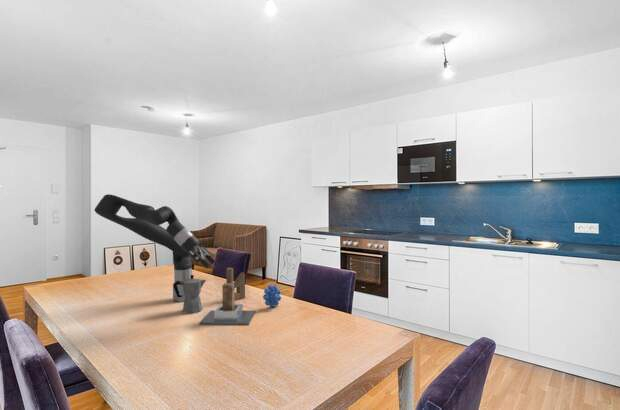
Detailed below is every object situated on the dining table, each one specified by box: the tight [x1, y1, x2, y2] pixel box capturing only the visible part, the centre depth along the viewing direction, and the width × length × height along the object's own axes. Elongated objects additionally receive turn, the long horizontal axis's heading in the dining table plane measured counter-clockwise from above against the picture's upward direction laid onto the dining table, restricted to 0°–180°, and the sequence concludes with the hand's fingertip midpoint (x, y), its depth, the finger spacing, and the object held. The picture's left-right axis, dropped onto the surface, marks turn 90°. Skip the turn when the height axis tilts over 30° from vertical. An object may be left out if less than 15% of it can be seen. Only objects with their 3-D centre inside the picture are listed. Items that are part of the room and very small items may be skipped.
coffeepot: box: [172, 274, 207, 315], centre depth 169 cm, size 15×9×18 cm, turn 110°
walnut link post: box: [221, 282, 236, 310], centre depth 159 cm, size 4×4×15 cm
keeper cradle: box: [199, 303, 256, 326], centre depth 159 cm, size 22×16×5 cm
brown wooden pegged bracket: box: [225, 267, 246, 301], centre depth 188 cm, size 4×11×18 cm, turn 137°
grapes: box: [262, 284, 282, 309], centre depth 173 cm, size 12×7×12 cm, turn 138°
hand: (211, 264), depth 159 cm, fingers open, 8 cm apart
